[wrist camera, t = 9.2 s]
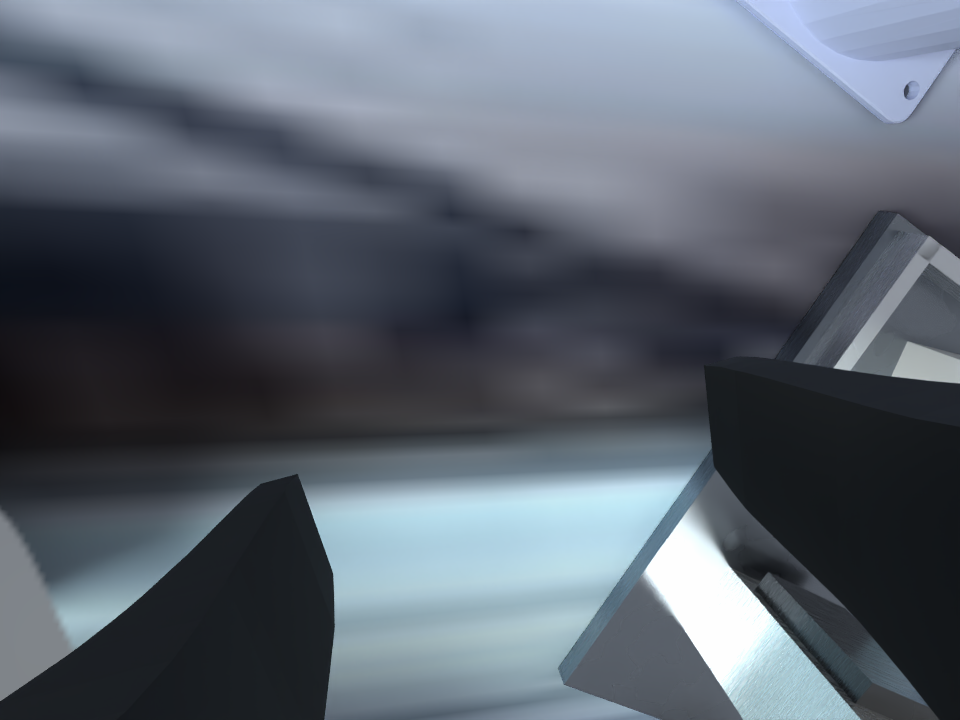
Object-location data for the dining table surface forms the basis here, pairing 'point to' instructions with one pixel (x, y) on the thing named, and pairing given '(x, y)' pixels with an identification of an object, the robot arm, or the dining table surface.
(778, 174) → the dining table surface
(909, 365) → the white matte cuboid
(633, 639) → the grey hollow box
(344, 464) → the dining table surface
